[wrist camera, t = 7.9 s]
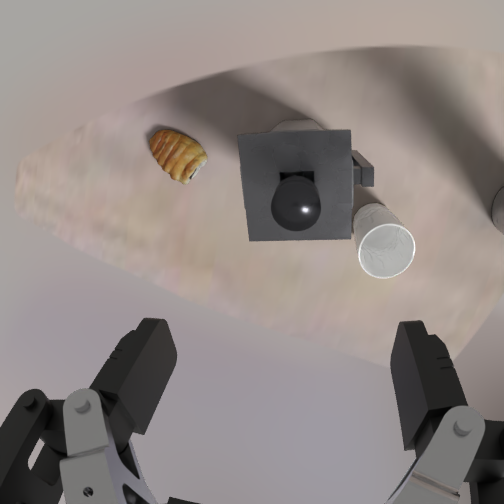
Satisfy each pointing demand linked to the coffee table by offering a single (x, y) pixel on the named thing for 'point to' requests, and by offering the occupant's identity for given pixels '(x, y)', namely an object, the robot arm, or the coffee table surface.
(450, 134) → the coffee table surface
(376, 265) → the white cup
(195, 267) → the coffee table surface
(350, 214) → the square french press
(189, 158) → the pastry
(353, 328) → the coffee table surface
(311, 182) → the plunger
